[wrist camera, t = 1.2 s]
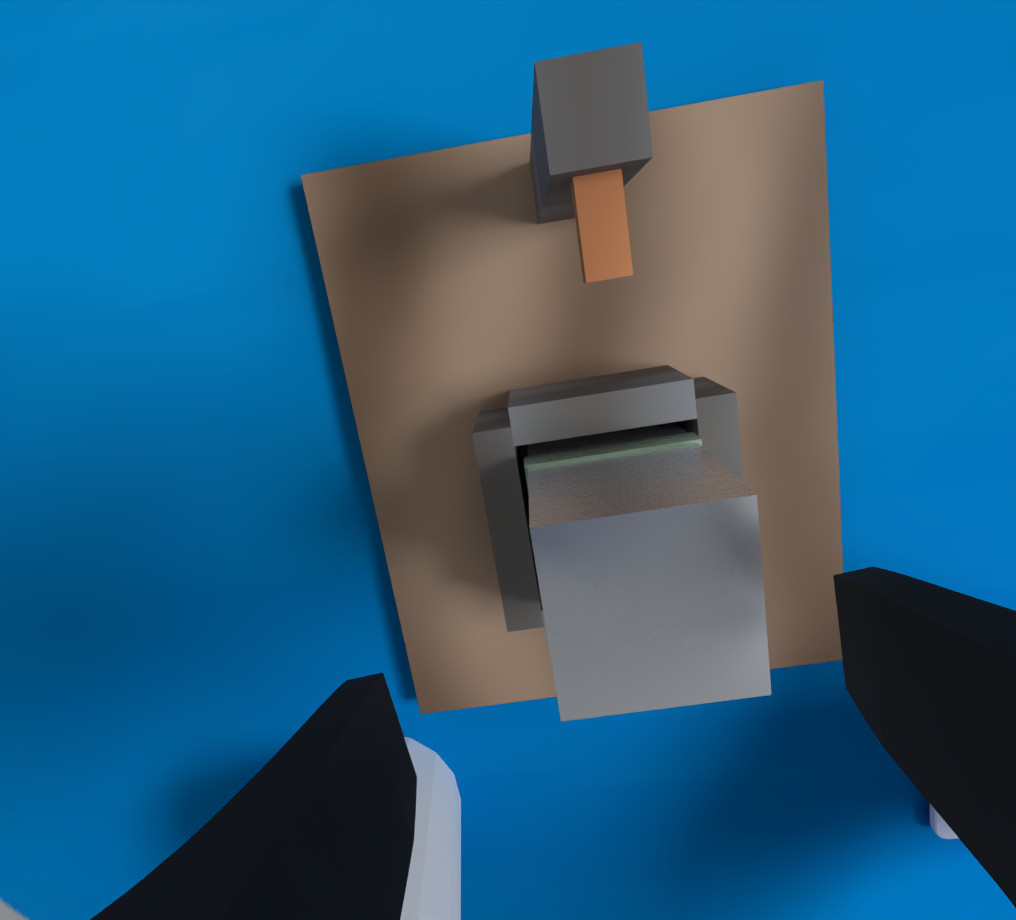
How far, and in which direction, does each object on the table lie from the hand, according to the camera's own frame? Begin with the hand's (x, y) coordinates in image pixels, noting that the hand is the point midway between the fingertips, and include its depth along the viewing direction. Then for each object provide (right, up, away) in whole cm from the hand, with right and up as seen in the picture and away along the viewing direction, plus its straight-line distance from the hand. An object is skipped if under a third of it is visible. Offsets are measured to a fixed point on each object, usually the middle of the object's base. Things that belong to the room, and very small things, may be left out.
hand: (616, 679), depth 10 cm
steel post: (+1, +3, +9) cm, 10 cm away
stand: (+1, +4, +10) cm, 11 cm away
